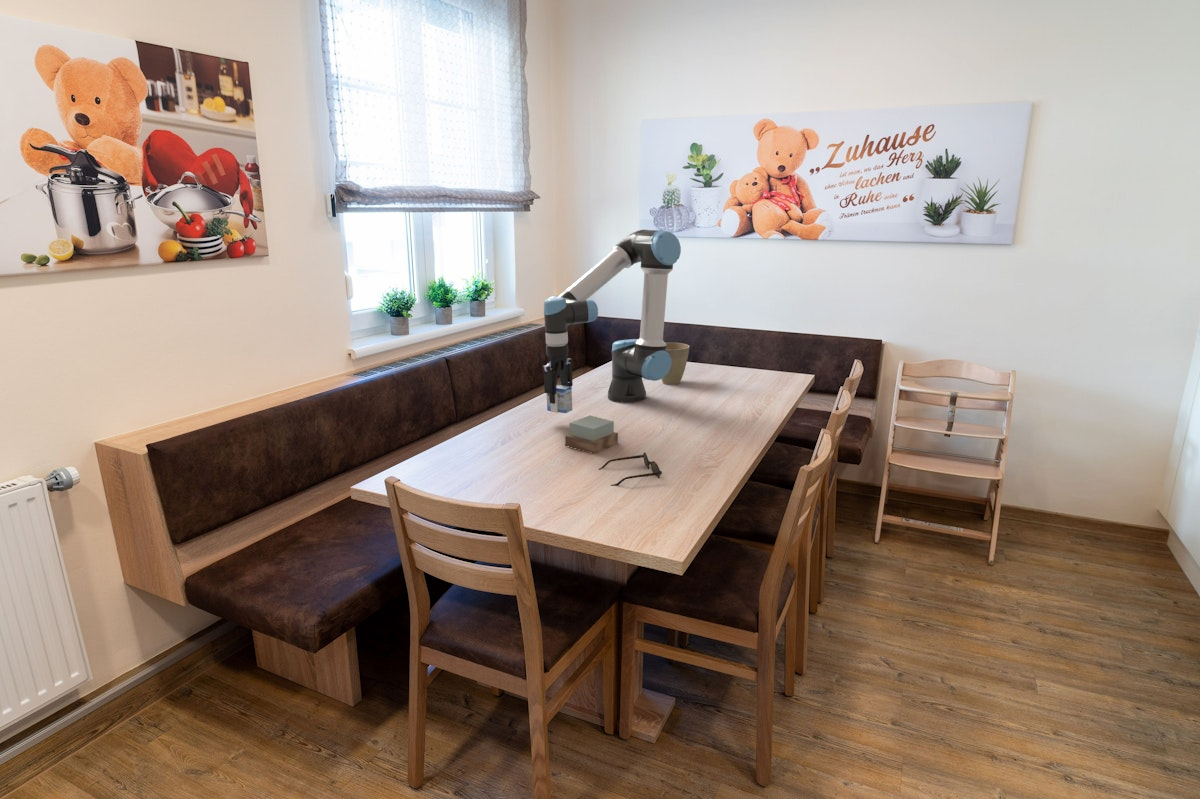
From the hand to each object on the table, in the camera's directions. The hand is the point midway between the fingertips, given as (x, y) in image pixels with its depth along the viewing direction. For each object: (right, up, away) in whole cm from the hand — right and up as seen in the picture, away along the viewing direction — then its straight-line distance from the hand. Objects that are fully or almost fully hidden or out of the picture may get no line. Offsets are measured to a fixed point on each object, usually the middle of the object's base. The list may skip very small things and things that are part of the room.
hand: (559, 409), depth 250 cm
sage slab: (+11, -7, -20) cm, 24 cm away
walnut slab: (+11, -11, -19) cm, 25 cm away
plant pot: (+44, +10, +56) cm, 72 cm away
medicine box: (0, 0, 0) cm, 1 cm away
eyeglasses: (+22, -19, -44) cm, 52 cm away
